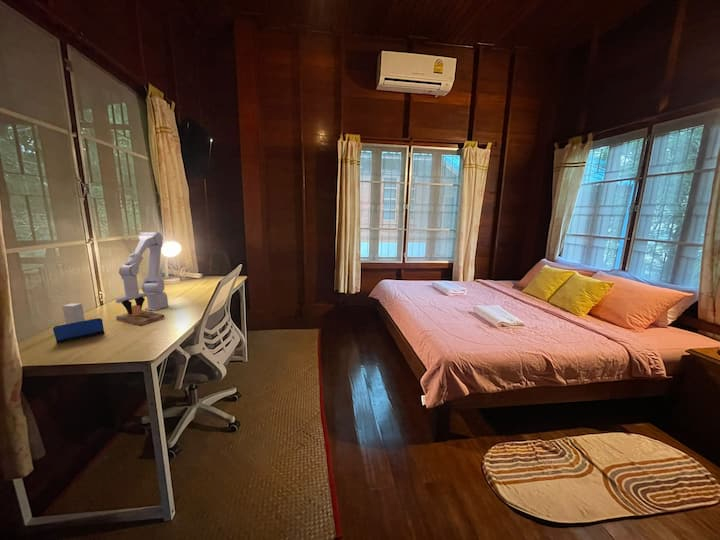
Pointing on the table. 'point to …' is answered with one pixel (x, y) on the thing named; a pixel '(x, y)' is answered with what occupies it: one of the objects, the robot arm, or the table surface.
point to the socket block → (140, 318)
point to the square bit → (135, 310)
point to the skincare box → (73, 313)
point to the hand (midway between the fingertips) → (134, 312)
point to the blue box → (78, 330)
